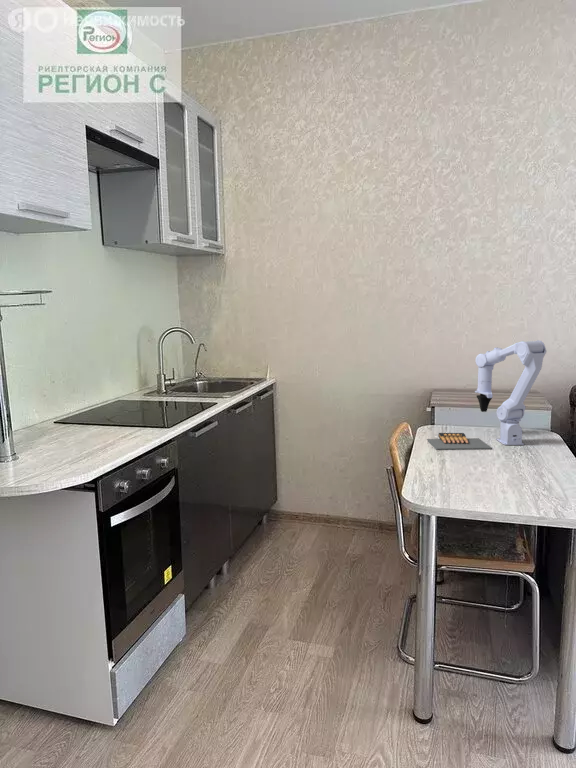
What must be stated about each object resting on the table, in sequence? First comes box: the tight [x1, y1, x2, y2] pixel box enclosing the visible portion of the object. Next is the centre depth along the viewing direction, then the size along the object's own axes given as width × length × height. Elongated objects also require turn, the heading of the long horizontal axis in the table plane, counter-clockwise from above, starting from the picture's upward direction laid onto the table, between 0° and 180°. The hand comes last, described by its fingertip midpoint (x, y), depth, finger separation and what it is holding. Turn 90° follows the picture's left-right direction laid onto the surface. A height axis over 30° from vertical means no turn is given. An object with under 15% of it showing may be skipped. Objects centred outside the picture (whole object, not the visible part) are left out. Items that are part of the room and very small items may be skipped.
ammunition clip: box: [438, 432, 468, 443], centre depth 225 cm, size 11×2×12 cm
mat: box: [426, 437, 493, 451], centre depth 221 cm, size 16×22×1 cm
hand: (483, 411), depth 237 cm, fingers closed
